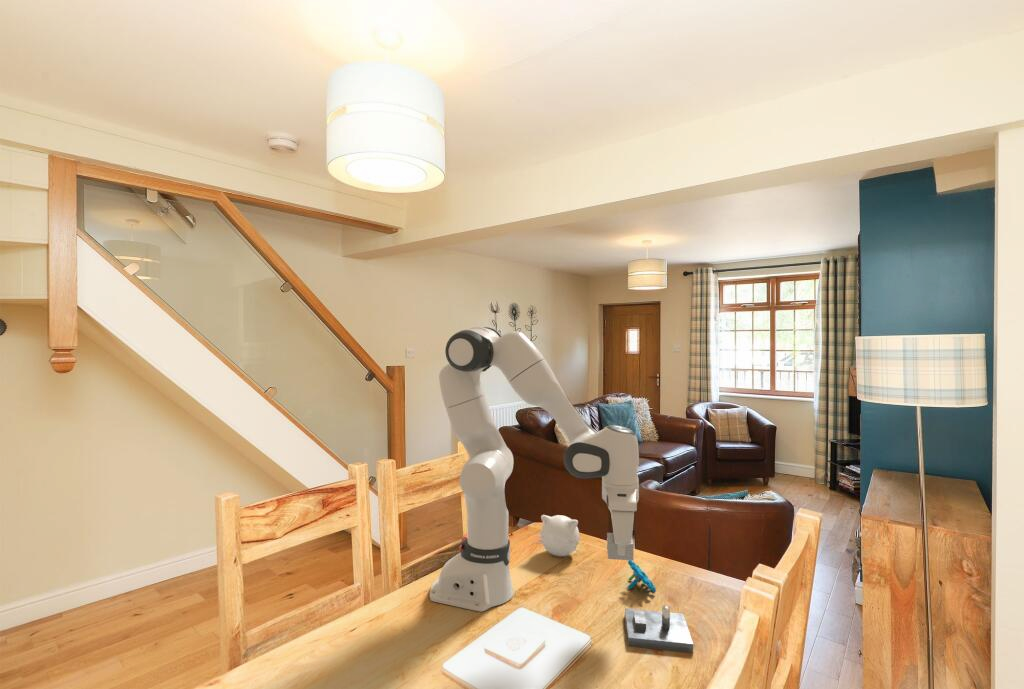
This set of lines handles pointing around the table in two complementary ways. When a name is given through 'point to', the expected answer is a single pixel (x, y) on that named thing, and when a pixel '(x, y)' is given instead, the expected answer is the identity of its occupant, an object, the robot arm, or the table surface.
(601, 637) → the table surface
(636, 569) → the gear
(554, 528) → the cat head
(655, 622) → the shaft stand
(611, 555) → the collar
